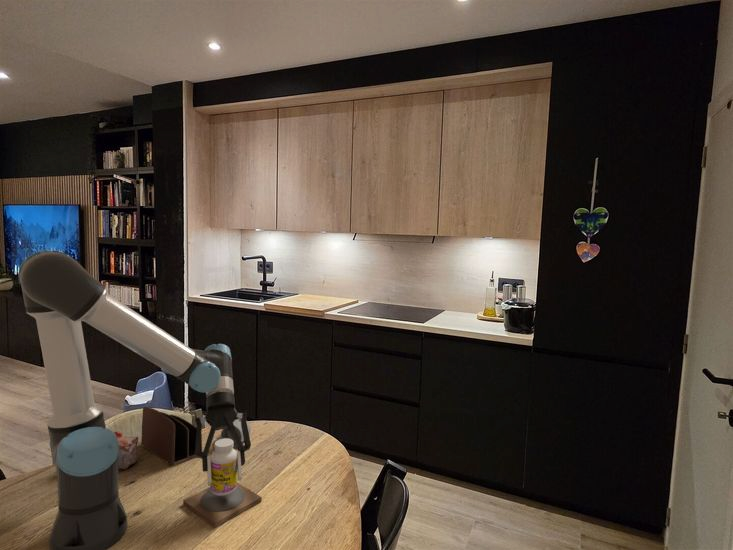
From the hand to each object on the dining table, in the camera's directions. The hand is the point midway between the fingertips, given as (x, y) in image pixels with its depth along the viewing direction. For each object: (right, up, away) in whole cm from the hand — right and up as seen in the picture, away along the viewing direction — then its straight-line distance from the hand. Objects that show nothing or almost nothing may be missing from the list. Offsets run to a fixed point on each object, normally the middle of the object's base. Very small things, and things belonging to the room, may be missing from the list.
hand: (225, 481), depth 113 cm
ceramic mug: (-9, -4, +37) cm, 38 cm away
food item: (-40, -5, +20) cm, 45 cm away
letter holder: (-27, -4, +30) cm, 41 cm away
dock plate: (-2, -7, +4) cm, 9 cm away
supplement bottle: (-2, -4, +4) cm, 6 cm away
